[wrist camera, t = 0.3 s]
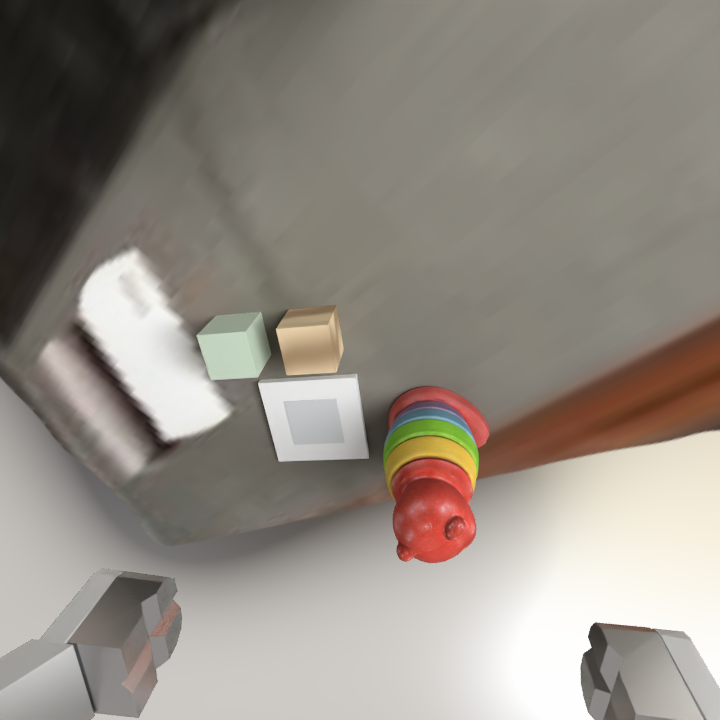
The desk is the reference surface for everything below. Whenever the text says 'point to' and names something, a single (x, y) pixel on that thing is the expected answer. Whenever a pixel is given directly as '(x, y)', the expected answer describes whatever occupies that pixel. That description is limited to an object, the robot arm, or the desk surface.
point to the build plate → (315, 417)
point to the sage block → (234, 346)
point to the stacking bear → (433, 472)
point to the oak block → (310, 340)
